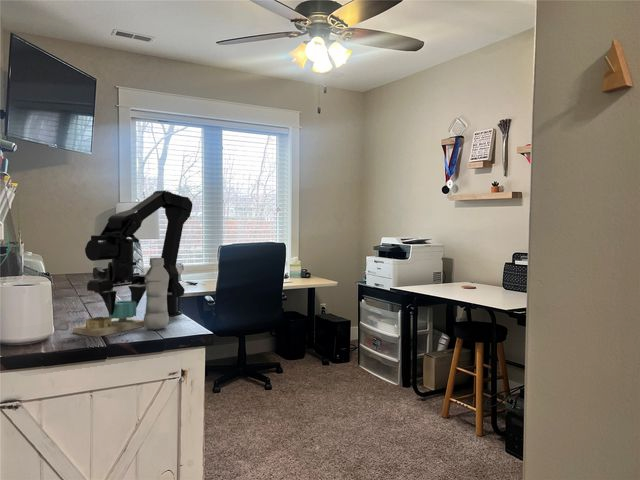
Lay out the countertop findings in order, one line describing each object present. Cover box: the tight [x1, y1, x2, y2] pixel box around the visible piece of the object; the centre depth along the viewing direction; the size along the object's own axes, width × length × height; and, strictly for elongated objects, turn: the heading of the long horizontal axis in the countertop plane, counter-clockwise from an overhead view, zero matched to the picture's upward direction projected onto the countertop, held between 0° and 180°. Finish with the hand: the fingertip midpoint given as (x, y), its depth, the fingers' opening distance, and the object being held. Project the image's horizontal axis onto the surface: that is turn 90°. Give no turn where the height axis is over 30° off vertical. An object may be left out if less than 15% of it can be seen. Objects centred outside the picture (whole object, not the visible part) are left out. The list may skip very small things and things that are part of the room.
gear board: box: [72, 316, 145, 338], centre depth 127 cm, size 16×10×6 cm, turn 152°
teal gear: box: [108, 299, 137, 319], centre depth 131 cm, size 7×7×4 cm
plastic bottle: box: [143, 257, 170, 331], centre depth 128 cm, size 6×7×20 cm
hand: (122, 312), depth 131 cm, fingers closed on teal gear, 7 cm apart
